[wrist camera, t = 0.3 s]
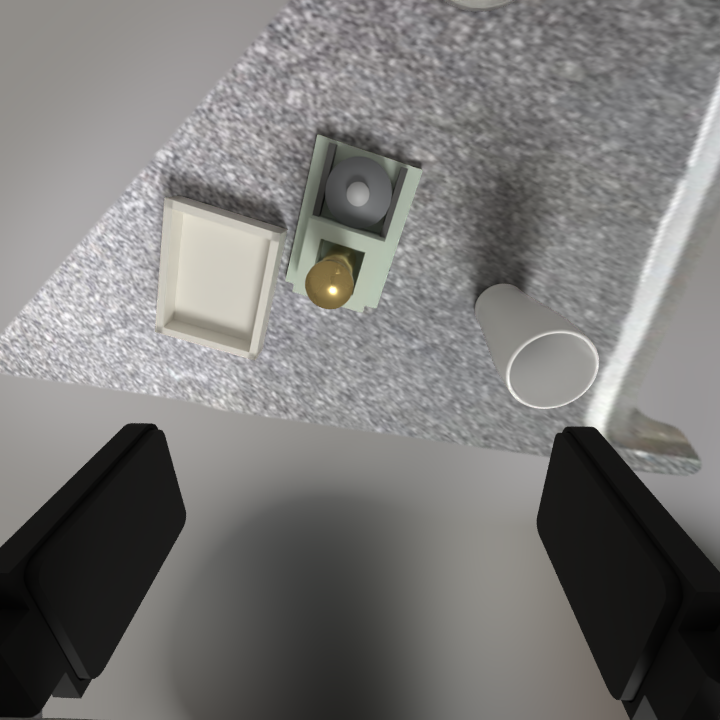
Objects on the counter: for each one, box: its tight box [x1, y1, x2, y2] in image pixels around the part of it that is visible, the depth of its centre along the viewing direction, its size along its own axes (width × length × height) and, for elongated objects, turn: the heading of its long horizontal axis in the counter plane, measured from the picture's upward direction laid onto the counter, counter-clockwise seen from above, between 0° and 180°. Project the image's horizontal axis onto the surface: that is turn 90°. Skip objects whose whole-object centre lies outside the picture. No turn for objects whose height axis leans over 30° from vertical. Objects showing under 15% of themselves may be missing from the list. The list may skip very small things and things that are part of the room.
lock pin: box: [305, 244, 356, 309], centre depth 36 cm, size 4×4×10 cm
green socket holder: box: [285, 134, 423, 313], centre depth 38 cm, size 14×10×5 cm
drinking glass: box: [475, 284, 599, 409], centre depth 36 cm, size 7×7×15 cm
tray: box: [155, 195, 287, 360], centre depth 41 cm, size 14×11×3 cm
